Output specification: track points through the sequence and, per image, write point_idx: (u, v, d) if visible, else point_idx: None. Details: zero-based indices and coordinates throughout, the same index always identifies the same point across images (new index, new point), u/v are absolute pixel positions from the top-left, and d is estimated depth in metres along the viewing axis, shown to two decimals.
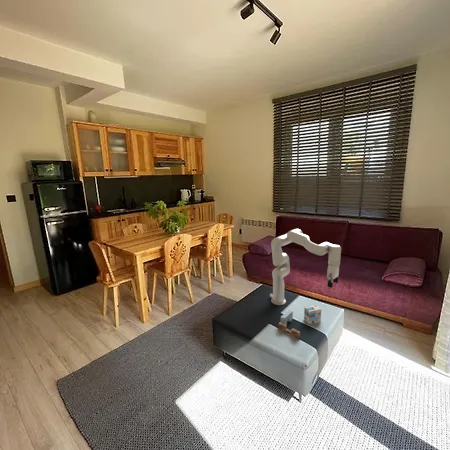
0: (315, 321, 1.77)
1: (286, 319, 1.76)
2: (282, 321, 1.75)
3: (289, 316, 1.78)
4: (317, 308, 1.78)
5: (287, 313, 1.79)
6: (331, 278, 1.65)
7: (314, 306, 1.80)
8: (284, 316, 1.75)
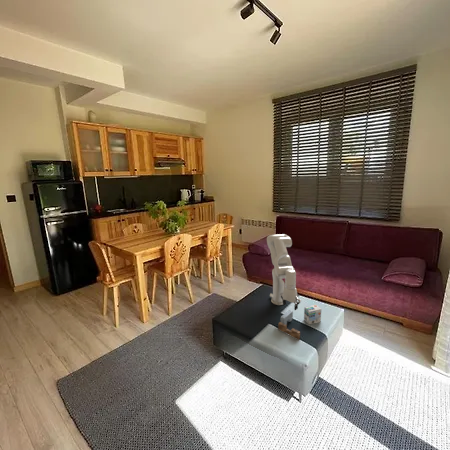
0: (315, 321, 1.77)
1: (286, 319, 1.76)
2: (282, 321, 1.75)
3: (289, 316, 1.78)
4: (317, 308, 1.78)
5: (287, 313, 1.79)
6: (296, 300, 1.75)
7: (314, 306, 1.80)
8: (284, 316, 1.75)
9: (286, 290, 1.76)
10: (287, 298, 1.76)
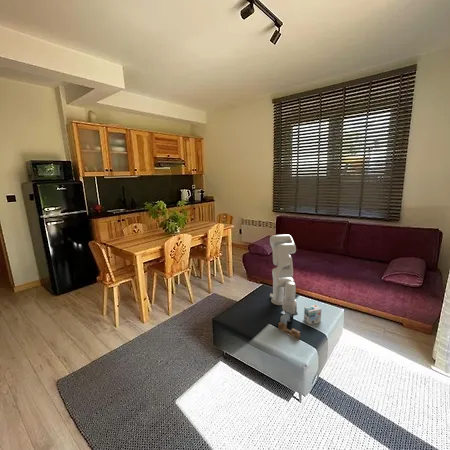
0: (315, 321, 1.77)
1: (286, 319, 1.76)
2: (282, 321, 1.75)
3: (289, 316, 1.78)
4: (317, 308, 1.78)
5: (287, 313, 1.79)
6: None
7: (314, 306, 1.80)
8: (284, 316, 1.75)
9: (286, 301, 1.78)
10: (287, 309, 1.79)
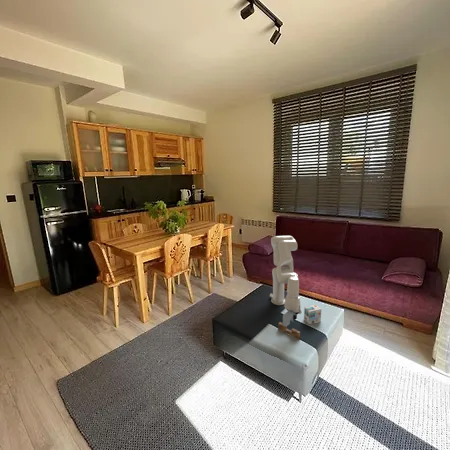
0: (315, 321, 1.77)
1: (289, 318, 1.61)
2: (284, 320, 1.60)
3: (292, 315, 1.63)
4: (317, 308, 1.78)
5: (290, 311, 1.64)
6: None
7: (314, 306, 1.80)
8: (287, 315, 1.60)
9: (288, 299, 1.63)
10: (289, 307, 1.64)
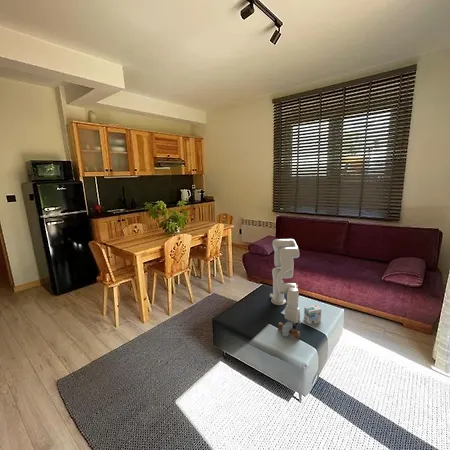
0: (315, 321, 1.77)
1: (288, 328, 1.63)
2: (284, 331, 1.62)
3: (292, 325, 1.66)
4: (317, 308, 1.78)
5: (289, 322, 1.66)
6: None
7: (314, 306, 1.80)
8: (286, 325, 1.63)
9: (288, 309, 1.65)
10: (289, 318, 1.66)
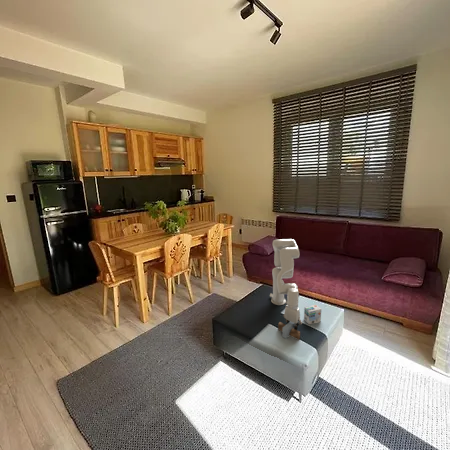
0: (315, 321, 1.77)
1: (288, 330, 1.64)
2: (284, 332, 1.62)
3: (292, 327, 1.66)
4: (317, 308, 1.78)
5: (289, 324, 1.67)
6: None
7: (314, 306, 1.80)
8: (286, 327, 1.63)
9: (288, 310, 1.65)
10: (289, 318, 1.66)
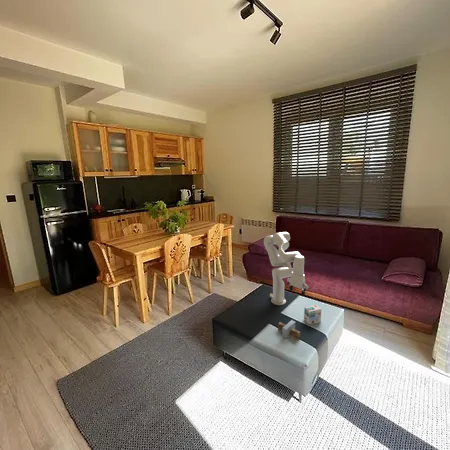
0: (315, 321, 1.77)
1: (288, 330, 1.64)
2: (284, 332, 1.62)
3: (292, 327, 1.66)
4: (317, 308, 1.78)
5: (289, 323, 1.67)
6: (303, 286, 1.72)
7: (314, 306, 1.80)
8: (286, 327, 1.63)
9: (293, 276, 1.73)
10: (294, 284, 1.74)
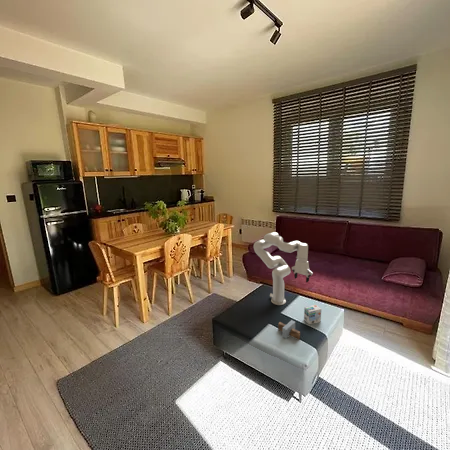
0: (315, 321, 1.77)
1: (288, 330, 1.64)
2: (284, 332, 1.62)
3: (292, 327, 1.66)
4: (317, 308, 1.78)
5: (289, 324, 1.67)
6: (307, 273, 1.81)
7: (314, 306, 1.80)
8: (286, 327, 1.63)
9: (298, 263, 1.82)
10: (299, 271, 1.82)
